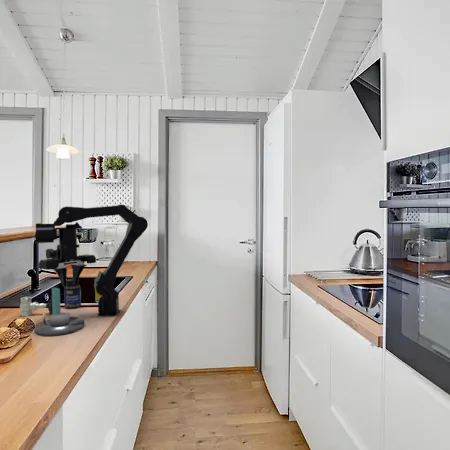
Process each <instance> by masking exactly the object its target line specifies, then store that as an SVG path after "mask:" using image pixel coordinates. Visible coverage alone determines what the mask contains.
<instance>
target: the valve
mask: <svg viewBox="0 0 450 450" xmlns="http://www.w3.org/2000/svg"><path fill="white" fill-rule="evenodd" d="M32 299H33V298H32V296H23V297H21V298H20V304H19V309H20V315H21V317H29V316H32V315H33V311H37V310H38V309H45V308H46V309H47V310H48V314H50V315H53V312H52V296H50V300H48V302H46V304H45V303H43V302H42V303H39V302H38V301H33V302H32Z"/></svg>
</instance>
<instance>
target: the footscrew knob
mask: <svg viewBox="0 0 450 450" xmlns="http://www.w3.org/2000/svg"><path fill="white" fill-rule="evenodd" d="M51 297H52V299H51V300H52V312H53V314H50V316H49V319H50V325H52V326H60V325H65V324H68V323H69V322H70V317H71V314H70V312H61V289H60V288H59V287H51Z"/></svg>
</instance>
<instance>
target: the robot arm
mask: <svg viewBox="0 0 450 450" xmlns="http://www.w3.org/2000/svg"><path fill="white" fill-rule="evenodd" d="M57 215H58V217H57V218H56V219H55V220H54V222H53V223H38V222H37V223H35V233H34V238H35V241H34V242H35V244H46V243H47V244H49V243H51V244H52V243H54V241H56V240H58V241H59V242H58V243H59V244H57V246H56V249H53V248H47V249H46V250H45V257H46V259H40V260H39V262H38V268H39V269H43V270H53V271H55V272H56V274H57V276H58V278H59V280H60V283H61V285H62V287H63V288H65V286H67V284H66V280H67V276H68V275H67V273H68V267H65V265H70V266H71V269H72V279H73V285H76V283H77V281H78V279H79V278H80V277H81V274H82V272H83V270H84V268H85V267H87V264H95V263H97V257H96V256H95V255H94V254H80V255H79V254H78V248H80V244H78V239H77V236H78V235H77V232H78V231H77V230H82V229H83V226H81V225H80V224H79V222H78V221H81V220H85V219H88V218H98V217H99V218H100V217H110V216H120V217H121V219H123V220H124V221H125V223H127V224H128V225H127V229H126V231H125V235H124V238H123V239H122V241H121V243H120V244H119V247H118V248H117V250H116V252H115V253H114V256H113V257H112V259H111V261H110V262H109V263H108V266H107V268H105V270H104V271H101V270H99V271H98V273H97V276H96V277H95V278H93V281H94V283H93V287H94V291H95V290H96V291H97V293H98V294H99V295H101V296H102V297H101V298H99V302H98V303H97V312H98V314H97V316H98V317H108V316H109V317H115V316H117V315H118V314H119V313H120V312H121V309H120V302H119V301H120V299H119V296H120V295H119V294H120V293H119V292H118V291H117V289H116V288H115V287H114V285H115V282H116V279H117V275H118V272H119V271H120V269H121V267H122V265H124V262H125V260H126V258H127V256H128V254H129V253H130V251H131V249H132V248H133V246H134V244H135V242H136V241H137V240H138V239H139V238H140V237H141V236H142V235H143V234H144V232H145V231H146V230H147V228H148V225H149V224H148V220H147V219H146V218H145V217H143V216H139V215H138V214H136V213H135V212H133V211H132V210H131V209H129V208H128V207H127V206H126V205H124V204H117V205H105V206H94V207H93V206H92V207H80V206H79V207H77V206H63V207H61V208H60V209H59V211H58V214H57ZM74 222H75V223H74ZM65 223H66V224H65ZM69 223H70V224H69ZM71 223H72V224H71ZM63 224H65V227H61V226H63ZM85 263H87V264H85Z"/></svg>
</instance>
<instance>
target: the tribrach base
mask: <svg viewBox="0 0 450 450" xmlns="http://www.w3.org/2000/svg"><path fill="white" fill-rule="evenodd" d="M85 322H86V321H85V319H84V318H82V317H79V316H70V322H69V323H68V324H65V325H60V326H52V325H50V318H49V319H46V312H42V321H41V322H38V323H36V324H35V325H34V327H35V329H34V328H33V329H34V334H35V335H36V336H40V337H58V336H64V335H69V334H70V335H71V334H72V333H75V332H78V331H81V330H82V329H84V328H85V327H86V325H85Z"/></svg>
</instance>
